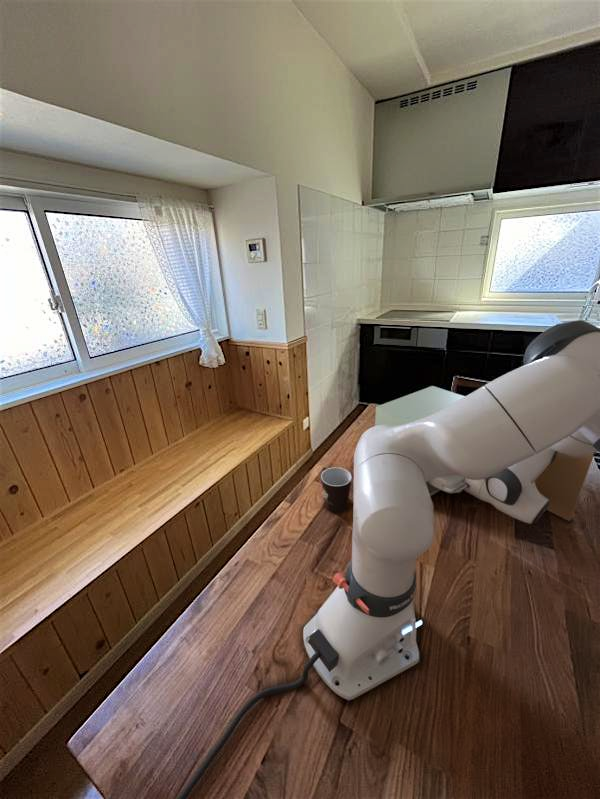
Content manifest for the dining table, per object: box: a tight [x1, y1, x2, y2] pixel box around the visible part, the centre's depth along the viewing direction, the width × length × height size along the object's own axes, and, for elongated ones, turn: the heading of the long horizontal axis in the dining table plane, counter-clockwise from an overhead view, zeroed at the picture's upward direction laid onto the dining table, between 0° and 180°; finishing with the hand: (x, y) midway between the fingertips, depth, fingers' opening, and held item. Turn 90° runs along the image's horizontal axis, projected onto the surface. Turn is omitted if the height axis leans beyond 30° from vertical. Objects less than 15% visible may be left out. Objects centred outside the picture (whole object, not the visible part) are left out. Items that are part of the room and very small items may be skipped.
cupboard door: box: [535, 451, 596, 522], centre depth 94 cm, size 7×26×24 cm, turn 33°
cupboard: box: [374, 385, 466, 497], centre depth 104 cm, size 18×26×24 cm
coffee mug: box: [320, 466, 353, 513], centre depth 97 cm, size 12×9×10 cm
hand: (435, 457), depth 103 cm, fingers open, 8 cm apart
